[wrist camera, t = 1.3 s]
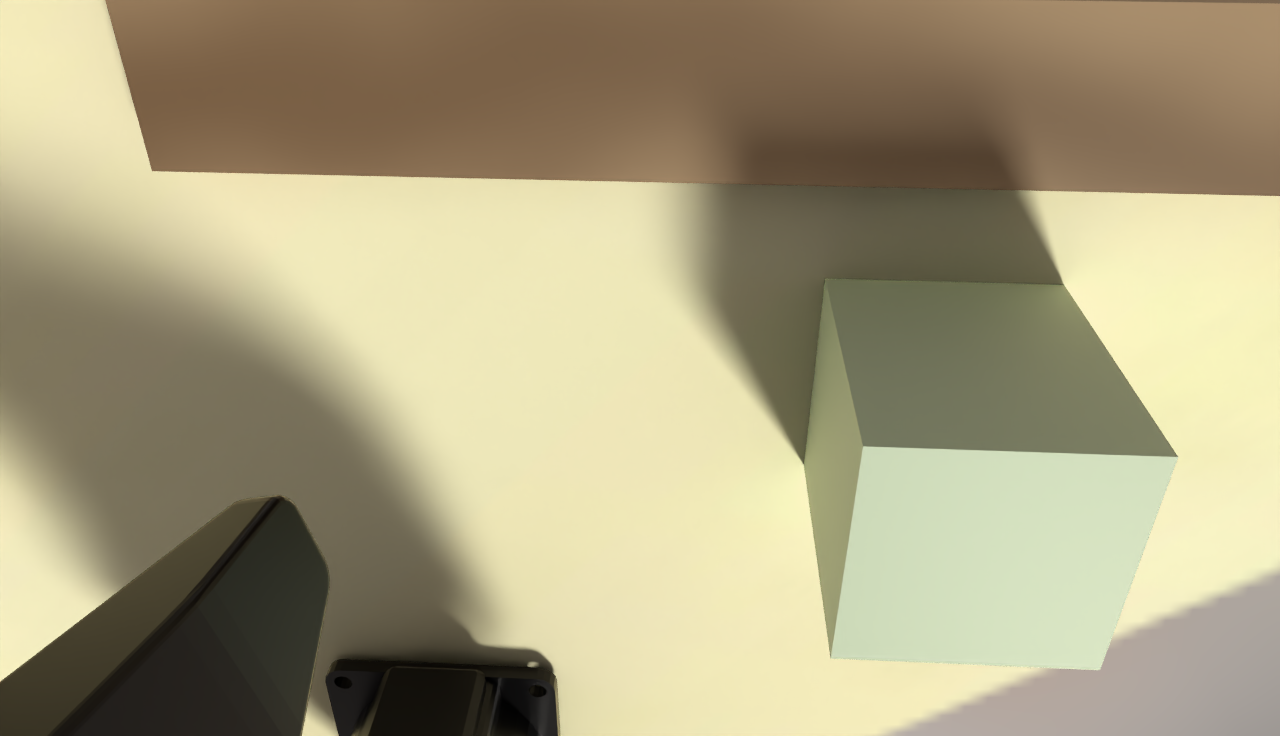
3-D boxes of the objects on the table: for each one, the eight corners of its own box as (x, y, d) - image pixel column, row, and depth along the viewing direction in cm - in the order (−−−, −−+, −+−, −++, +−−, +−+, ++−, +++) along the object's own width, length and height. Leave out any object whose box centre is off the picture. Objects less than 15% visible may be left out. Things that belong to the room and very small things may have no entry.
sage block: (1014, 470, 24) (1100, 669, 19) (803, 463, 24) (830, 658, 19) (1062, 283, 21) (1178, 456, 16) (824, 277, 21) (863, 446, 16)
